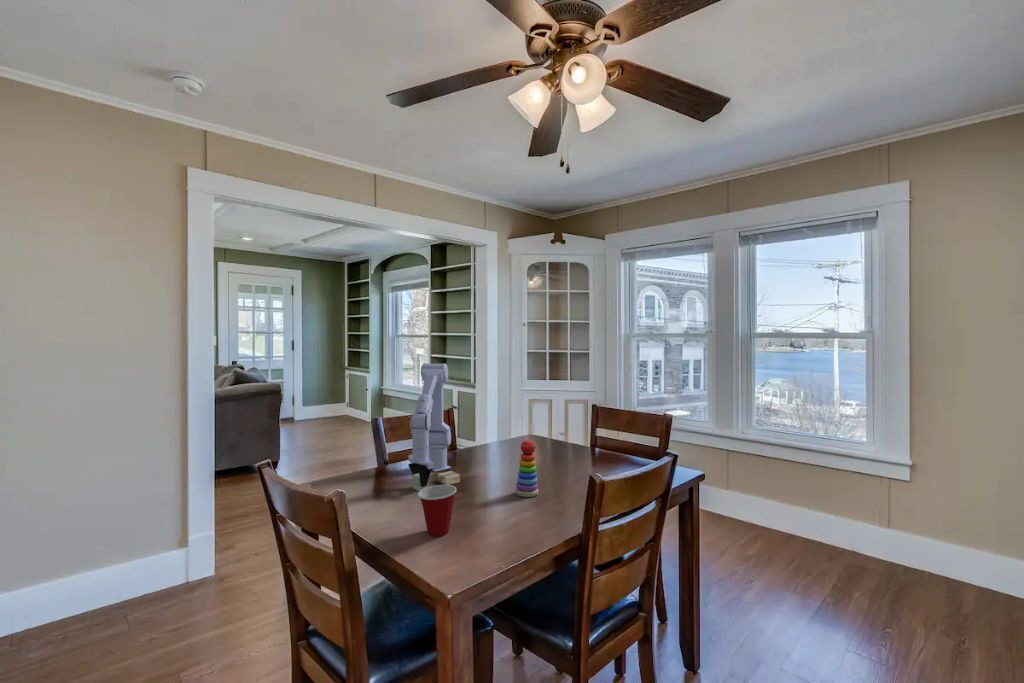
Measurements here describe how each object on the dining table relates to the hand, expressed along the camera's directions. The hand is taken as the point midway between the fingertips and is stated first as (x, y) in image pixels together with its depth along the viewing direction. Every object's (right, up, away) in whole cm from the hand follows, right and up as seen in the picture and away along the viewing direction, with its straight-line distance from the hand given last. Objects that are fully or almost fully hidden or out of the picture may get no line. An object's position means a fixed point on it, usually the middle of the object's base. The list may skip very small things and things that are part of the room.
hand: (420, 484), depth 166 cm
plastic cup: (+12, -2, -36) cm, 38 cm away
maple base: (+9, -2, +8) cm, 12 cm away
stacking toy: (+38, -2, -5) cm, 38 cm away
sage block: (0, -2, 0) cm, 2 cm away
